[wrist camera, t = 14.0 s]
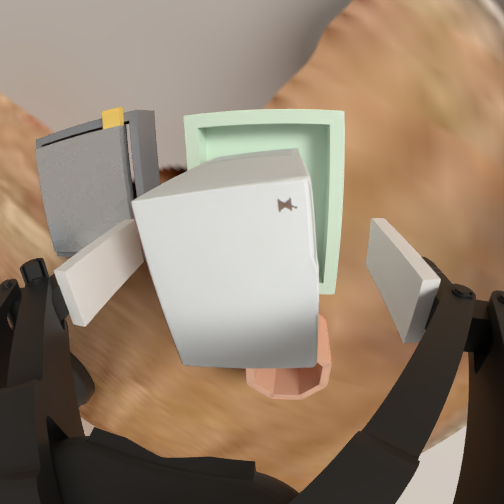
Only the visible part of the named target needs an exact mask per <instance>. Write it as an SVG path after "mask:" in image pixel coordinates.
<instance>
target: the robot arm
mask: <svg viewBox="0 0 504 504" xmlns="http://www.w3.org/2000/svg"><path fill="white" fill-rule="evenodd" d="M143 262H144V260H143V255H142V250H141V244H140V239H139V235H138V231H137V227H136V223H135V220H134V219H125V220H124V221H122V222H121V223H119V224H118V225H116V226H115V227H113V228H112V229H110V230H109V231H107V232H106V233H104V234H103V235H102V236H100V237H99V238H97V239H96V240H94V241H93V242H92V243H90V244H89V245H87V246H86V247H85V248H83V249H82V250H80V251H79V252H78V253H76V254H75V255H74V256H72V257H71V258H70V259H68V260H67V261H66V262H64V263H63V264H62V265H61V266H59V267H58V268H57V269H55V270H54V274H53V275H52V276H51V277H49V275H48V272H47V269H46V265H45V262H44V259H43V258H36V259H33V260H30V261H28V262H26V263H24V264H23V265H22V266H21V267H20V271H21V273H22V276H23V279H24V282H25V288H20V287H19V285H18V282H17V280H16V279H10V280H5V281H4V282H2V283H1V284H0V504H395V503H396V502H397V500H398V499H399V497H400V496H401V494H402V493H403V491H404V490H405V488H406V487H407V485H408V483H409V482H410V480H411V479H412V477H413V475H414V473H415V472H416V470H417V468H418V465H419V462H420V461H419V460H418V458H419V456H420V454H421V452H422V450H423V448H424V446H425V444H426V443H427V441H428V439H429V437H430V435H431V433H432V431H433V429H434V426H435V424H436V422H437V420H438V418H439V416H440V413H441V411H442V409H443V406H444V404H445V402H446V399H447V397H448V394H449V392H450V389H451V386H452V384H453V381H454V378H455V375H456V372H457V369H458V366H459V363H460V360H461V357H462V354H463V351H465V352H468V357H469V402H468V418H467V430H466V439H465V447H464V454H463V460H462V466H461V471H460V476H459V481H458V485H457V490H456V494H455V498H454V502H453V504H504V292H503V291H493V292H492V294H491V297H490V299H489V302H488V301H481V300H476V295H475V294H474V292H473V291H472V290H471V289H469V288H468V287H465V286H463V285H459V284H452V283H451V282H450V281H449V280H448V278H447V277H446V276H445V275H444V274H443V273H442V272H441V271H440V269H438V267H437V266H436V265H435V264H434V263H433V262H432V261H430V260H429V259H427V258H425V257H421V256H420V255H419V254H418V253H417V252H416V251H415V250H414V248H413V247H412V246H411V245H410V244H409V243H408V242H407V241H406V240H405V239H404V238H403V237H402V236H401V235H400V234H399V233H398V232H397V231H396V230H395V229H394V228H393V227H392V226H391V225H390V224H389V223H388V222H387V221H386V220H385V219H384V218H371V227H370V236H369V244H368V252H367V259H366V266H367V268H368V270H369V272H370V274H371V276H372V278H373V280H374V282H375V284H376V286H377V288H378V290H379V292H380V294H381V296H382V298H383V300H384V302H385V304H386V306H387V308H388V310H389V312H390V314H391V317H392V319H393V321H394V323H395V325H396V327H397V330H398V332H399V334H400V336H401V339H402V341H403V343H413V342H419V344H418V346H417V348H416V350H415V352H414V353H413V355H412V357H411V359H410V360H409V362H408V364H407V365H406V367H405V369H404V370H403V372H402V374H401V375H400V377H399V379H398V380H397V382H396V383H395V385H394V386H393V388H392V390H391V391H390V393H389V394H388V396H387V397H386V398H385V400H384V401H383V403H382V404H381V406H380V407H379V409H378V410H377V411H376V413H375V414H374V415H373V417H372V418H371V420H370V421H369V422H368V424H367V425H366V426H365V427H364V429H363V430H362V431H358V432H357V433H356V434H355V435H354V436H353V438H352V439H351V440H350V441H349V442H348V443H347V444H346V446H345V447H344V448H343V449H342V450H341V451H340V453H339V454H338V455H337V456H336V457H335V458H334V459H333V460H332V461H331V462H330V464H329V465H328V466H327V467H326V468H325V469H324V470H323V471H322V472H321V473H320V474H319V475H318V476H317V477H316V478H315V479H314V480H313V481H312V482H311V483H310V484H309V485H308V486H307V487H306V488H305V489H304V490H303V491H302V492H301V493H300V494H299V493H298V492H297V491H296V490H295V489H293V488H292V487H290V486H289V485H287V484H286V483H284V482H282V481H280V480H278V479H276V478H273V477H271V476H268V475H266V474H263V473H259V472H256V467H255V461H242V460H232V459H224V458H216V457H190V458H164V457H160V456H158V455H156V454H154V453H152V452H150V451H148V450H147V449H145V448H143V447H141V446H139V445H138V444H136V443H134V442H132V441H131V440H129V439H127V438H125V437H122V436H119V435H116V434H113V433H110V432H107V431H104V430H101V429H98V428H96V427H94V429H93V431H92V433H91V435H90V436H85V434H84V430H83V426H82V422H81V417H80V413H79V407H80V406H81V405H83V404H86V403H87V402H88V401H89V400H90V398H91V396H92V395H93V393H94V391H95V387H94V383H93V381H92V379H91V377H90V375H89V374H88V372H87V371H86V369H85V368H84V367H83V366H82V364H81V363H80V362H79V361H78V360H77V359H76V358H75V357H74V356H73V355H72V354H71V353H70V347H69V336H68V325H67V322H66V320H65V317H66V316H67V315H68V314H70V317H71V319H72V322H73V324H74V325H79V326H84V327H86V326H87V324H88V323H89V322H90V321H91V320H92V319H93V317H94V316H95V315H96V314H97V313H98V312H99V310H100V309H101V308H102V307H103V306H104V305H105V304H106V302H107V301H108V300H109V299H110V298H111V297H112V296H113V295H114V294H115V292H116V291H117V290H118V289H119V288H120V287H121V286H122V285H123V284H124V283H125V281H126V280H127V279H128V278H129V277H130V276H131V275H132V274H133V273H134V272H135V271H136V270H137V269H138V267H139V266H140V265H141V264H142V263H143ZM7 317H8V319H9V321H10V323H11V325H12V328H10V326H9V324H8V321H7ZM425 330H426V331H425ZM424 331H425V333H424ZM423 333H424V335H423ZM422 336H423V337H422Z"/></svg>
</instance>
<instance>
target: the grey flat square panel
mask: <svg viewBox="0 0 504 504" xmlns="http://www.w3.org/2000/svg"><path fill="white" fill-rule="evenodd" d="M127 143H128V142H127V130H126V125H120V126H115V127H111V128H106V129H102V130H98V131H94V132H90V133H87V134H83V135H80V136H76V137H73V138H69V139H66V140H63V141H59V142H56V143H53V144H50V145H47V146H44V147H41V148H39V149H36V159H37V167H38V174H39V181H40V187H41V193H42V198H43V203H44V208H45V213H46V218H47V222H48V226H49V230H50V234H51V238H52V242H53V246H54V249H55V252H79V251H80V250H82V249H83V248H85V247H86V246H87V245H89V244H90V243H92V242H93V241H94V240H96V239H97V238H99V237H100V236H102V235H103V234H104V233H106V232H107V231H109V230H110V229H112V228H113V227H115V226H116V225H118V224H119V223H121V222H122V221H124V220H125V219H134V216H133V212H132V208H131V201H133V200H134V194H133V187H132V179H131V172H130V163H129V153H128V144H127ZM139 239H140V238H139ZM140 244H141V242H140ZM141 249H142V245H141Z"/></svg>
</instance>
